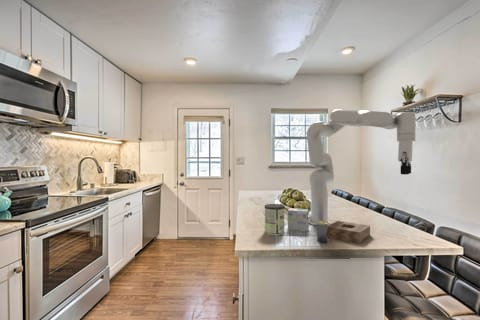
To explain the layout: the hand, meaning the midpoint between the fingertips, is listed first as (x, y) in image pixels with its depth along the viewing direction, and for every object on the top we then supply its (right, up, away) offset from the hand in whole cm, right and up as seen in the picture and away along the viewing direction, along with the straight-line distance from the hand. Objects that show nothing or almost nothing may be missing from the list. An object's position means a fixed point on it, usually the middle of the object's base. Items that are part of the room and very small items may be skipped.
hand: (405, 173), depth 127 cm
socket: (-27, -31, +3) cm, 41 cm away
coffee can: (-62, -31, +10) cm, 70 cm away
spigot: (-42, -31, -5) cm, 52 cm away
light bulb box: (-48, -31, +17) cm, 60 cm away
